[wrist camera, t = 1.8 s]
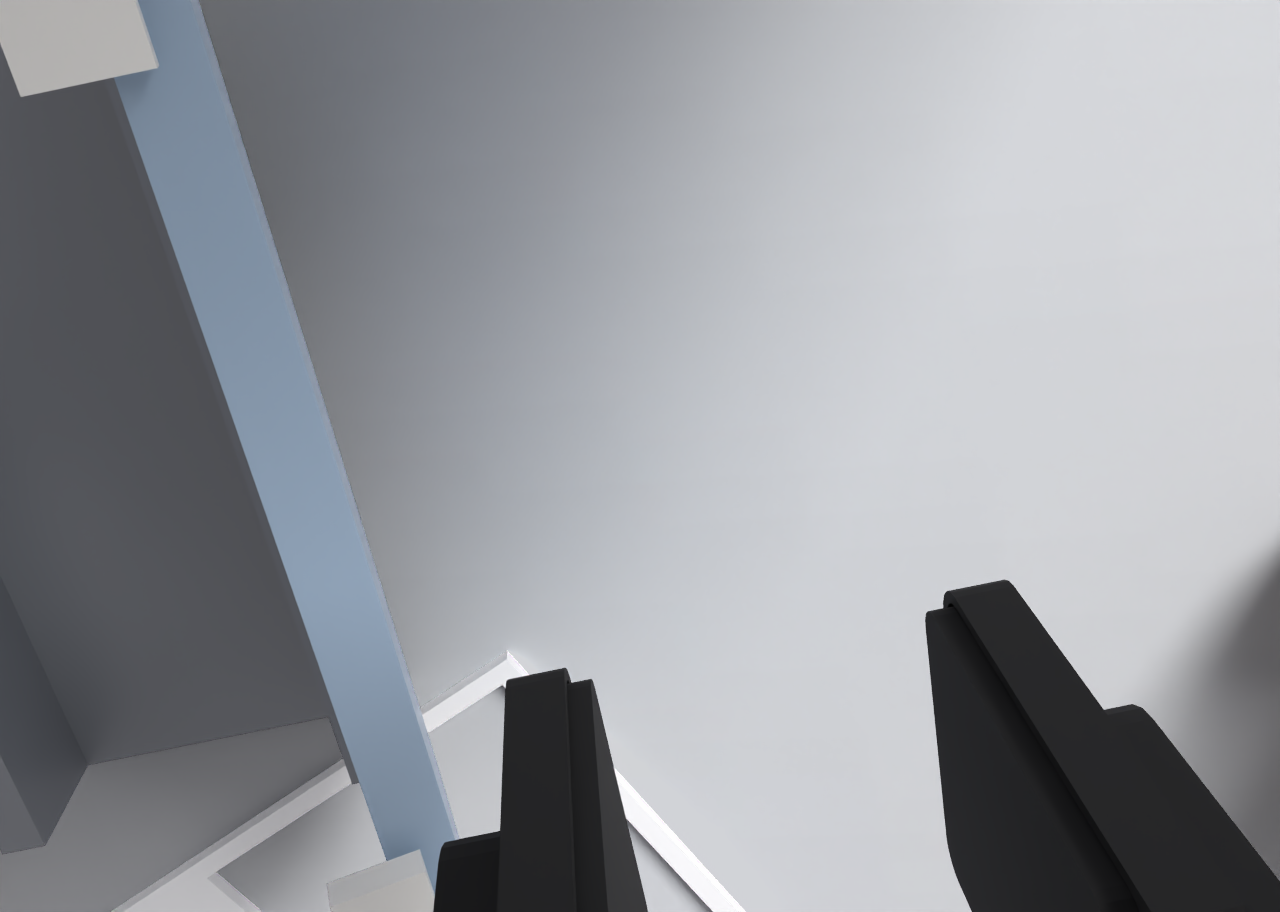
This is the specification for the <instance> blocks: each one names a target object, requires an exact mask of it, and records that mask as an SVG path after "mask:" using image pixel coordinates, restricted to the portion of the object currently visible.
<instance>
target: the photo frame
mask: <svg viewBox="0 0 1280 912" xmlns="http://www.w3.org/2000/svg"><path fill="white" fill-rule="evenodd" d="M527 675H529V674H528V673H527V671H526V670H525V669H524V668H523V667H522V666H521V665H520V664H519V663H518V662H517V660H516V659H515V658H514V657H513V656H512V655H511V654H510V653H509V652H508V651H505V652H504V653H502V654H501V655H499V656H498V657H496V658H495V659H493V660H492V661H490V662H489V663H487V664H486V665H484V666H482V667H481V668H479V669H478V670H476V671H475V672H473V673H472V674H470V675H469V676H467V677H466V678H464V679H463V680H461V681H460V682H458V683H457V684H455V685H454V686H452V687H451V688H449V689H448V690H446V691H445V692H443V693H442V694H440V695H438V696H437V697H435V698H434V699H432V700H431V701H429V702H428V703H426V704H425V705H423V706H422V707H420V710H421V713H422V716H423V719H424V723H425V726H426V729H427V732H428V733H429V732H431V731H432V730H434V729H435V728H437V727H438V726H440V725H442V724H443V723H445V722H446V721H448V720H449V719H451V718H452V717H454V716H455V715H457V714H458V713H460V712H461V711H463V710H464V709H466V708H468V707H469V706H471V705H472V704H474V703H475V702H477V701H478V700H480V699H481V698H483V697H484V696H486V695H487V694H489V693H490V692H492V691H494V690H495V689H497V688H498V687H500V686H501V685H503V686H504V687H505V688H506V681H507V680H508V679H512V678H517V677H522V676H527ZM614 770H615V774H616V779H617V783H618V787H619V791H620V795H621V800H622V804H623V808H624V812H625V816H626V819H627V820H628V821H629V822H630V823H631V824H632V825H633V826H634V827H635V828H636V829H637V830H638V831H639V833H640V834H641V835H642V836H643V837H644V838H645V839H646V840H647V841H648V842H649V843H650V844H651V845H652V847H653V848H654V849H655V850H656V851H657V852H658V853H659V854H660V855H661V856H662V857H663V858H664V859H665V861H666V862H667V863H668V864H669V865H670V866H671V867H672V868H673V869H674V870H675V871H676V872H677V873H678V875H679V876H680V877H681V878H682V879H683V880H684V881H685V882H686V883H687V884H688V885H689V886H690V887H691V889H692V890H693V891H694V892H695V893H696V894H697V895H698V896H699V897H700V898H701V899H702V900H703V901H704V902H705V904H706V905H707V906H708V907H709V908H710V909H711V910H712V911H713V912H746V911H745V910H744V909H743V908H742V907H741V906H740V905H739V904H738V903H737V901H736V900H735V899H734V898H733V897H732V896H731V895H730V894H729V893H728V892H727V891H726V889H725V888H724V887H723V886H722V885H721V884H720V883H719V882H718V881H717V880H716V878H715V877H714V876H713V875H712V874H711V873H710V872H709V871H708V870H707V869H706V868H705V866H704V865H703V864H702V863H701V862H700V861H699V860H698V859H697V858H696V857H695V855H694V854H693V853H692V852H691V851H690V850H689V849H688V848H687V847H686V846H685V844H684V843H683V842H682V841H681V840H680V839H679V838H678V837H677V836H676V835H675V834H674V832H673V831H672V830H671V829H670V828H669V827H668V826H667V825H666V824H665V823H664V821H663V820H662V819H661V818H660V817H659V816H658V815H657V814H656V813H655V812H654V811H653V809H652V808H651V807H650V806H649V805H648V804H647V803H646V802H645V801H644V800H643V798H642V797H641V796H640V795H639V794H638V793H637V792H636V791H635V790H634V789H633V788H632V786H631V785H630V784H629V783H628V782H627V781H626V780H625V779H624V778H623V777H622V775H621V774H620V773H619V772H618V771H617V770H616V769H615V768H614ZM351 783H352V782H351V779H350V777H349V774H348V771H347V768H346V765H345V762H344V760H343V759H341V760H340V761H338V762H337V763H335V764H334V765H332V766H331V767H329V768H328V769H326V770H325V771H323V772H322V773H320V774H319V775H317V776H316V777H314V778H313V779H311V780H309V781H308V782H306V783H305V784H303V785H302V786H300V787H299V788H297V789H296V790H294V791H293V792H291V793H290V794H288V795H287V796H285V797H284V798H282V799H281V800H279V801H278V802H276V803H275V804H273V805H272V806H270V807H269V808H267V809H265V810H264V811H262V812H261V813H259V814H258V815H256V816H255V817H253V818H252V819H250V820H249V821H247V822H246V823H244V824H243V825H241V826H240V827H238V828H237V829H235V830H234V831H232V832H231V833H229V834H228V835H226V836H225V837H223V838H221V839H220V840H218V841H217V842H215V843H214V844H212V845H211V846H209V847H208V848H206V849H205V850H203V851H202V852H200V853H199V854H197V855H196V856H194V857H193V858H191V859H190V860H188V861H187V862H185V863H184V864H182V865H181V866H179V867H177V868H176V869H174V870H173V871H171V872H170V873H168V874H167V875H165V876H164V877H162V878H161V879H159V880H158V881H156V882H155V883H153V884H152V885H150V886H149V887H147V888H146V889H144V890H143V891H141V892H140V893H138V894H137V895H135V896H133V897H132V898H130V899H129V900H127V901H126V902H124V903H123V904H121V905H120V906H118V907H117V908H115V909H114V910H112V911H111V912H262V911H261V910H260V909H259V908H258V907H257V906H255V905H254V904H253V903H252V902H251V901H250V900H248V899H247V898H246V897H245V896H244V895H243V894H241V893H240V892H239V891H238V890H237V889H236V888H234V887H233V886H232V885H231V884H230V883H229V882H228V881H226V880H225V879H224V878H223V877H222V876H221V875H219V874H218V873H217V871H218V870H220V869H221V868H223V867H224V866H226V865H227V864H229V863H230V862H232V861H234V860H235V859H237V858H238V857H240V856H241V855H243V854H244V853H246V852H247V851H249V850H250V849H252V848H253V847H255V846H256V845H258V844H260V843H261V842H263V841H264V840H266V839H267V838H269V837H270V836H272V835H273V834H275V833H276V832H278V831H279V830H281V829H282V828H284V827H286V826H287V825H289V824H290V823H292V822H293V821H295V820H296V819H298V818H299V817H301V816H302V815H304V814H305V813H307V812H308V811H310V810H312V809H313V808H315V807H316V806H318V805H319V804H321V803H322V802H324V801H325V800H327V799H328V798H330V797H331V796H333V795H334V794H336V793H338V792H339V791H341V790H342V789H344V788H345V787H347V786H348V785H350V784H351Z"/></svg>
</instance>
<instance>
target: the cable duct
mask: <svg viewBox="0 0 1280 912" xmlns="http://www.w3.org/2000/svg"><path fill="white" fill-rule="evenodd" d="M325 717H329V720H330V723H331V725H332V728H333V731H334V734H335V737H336V740H337V743H338V745H339V748H340V751H341V754H342V757H343V760H344V762H345V765H346V768H347V771H348V774H349V777H350V779H351V782H352V784H356V783H359V780H358V777H357V774H356V771H355V768H354V765H353V762H352V760H351V757H350V754H349V751H348V748H347V745H346V742H345V740H344V737H343V734H342V731H341V728H340V725H339V722H338V719H337V717H336V714H335V711H334V708H333V705H332V702H331V699H330V696H329V694H328V691H327V688H326V685H325V682H324V679H323V676H322V674H321V671H320V668H319V665H318V662H317V659H316V656H315V653H314V651H313V648H312V645H311V642H310V639H309V636H308V633H307V631H306V628H305V625H304V622H303V619H302V616H301V613H300V610H299V608H298V605H297V602H296V599H295V596H294V593H293V590H292V587H291V585H290V582H289V579H288V576H287V573H286V570H285V567H284V565H283V562H282V559H281V556H280V553H279V550H278V547H277V544H276V542H275V539H274V536H273V533H272V530H271V527H270V524H269V522H268V519H267V516H266V513H265V510H264V507H263V504H262V501H261V499H260V496H259V493H258V490H257V487H256V484H255V481H254V478H253V476H252V473H251V470H250V467H249V464H248V461H247V458H246V456H245V453H244V450H243V447H242V444H241V441H240V438H239V435H238V433H237V430H236V427H235V424H234V421H233V418H232V415H231V412H230V410H229V407H228V404H227V401H226V398H225V395H224V392H223V390H222V387H221V384H220V381H219V378H218V375H217V372H216V369H215V367H214V364H213V361H212V358H211V355H210V352H209V349H208V347H207V344H206V341H205V338H204V335H203V332H202V329H201V326H200V324H199V321H198V318H197V315H196V312H195V309H194V306H193V303H192V301H191V298H190V295H189V292H188V289H187V286H186V283H185V281H184V278H183V275H182V272H181V269H180V266H179V263H178V260H177V258H176V255H175V252H174V249H173V246H172V243H171V240H170V237H169V235H168V232H167V229H166V226H165V223H164V220H163V217H162V215H161V212H160V209H159V206H158V203H157V200H156V197H155V194H154V192H153V189H152V186H151V183H150V180H149V177H148V174H147V172H146V169H145V166H144V163H143V160H142V157H141V154H140V151H139V149H138V146H137V143H136V140H135V137H134V134H133V131H132V128H131V126H130V123H129V120H128V117H127V114H126V111H125V108H124V106H123V103H122V100H121V97H120V94H119V91H118V88H117V85H116V83H115V80H114V77H113V78H108V79H104V80H99V81H94V82H90V83H85V84H80V85H75V86H71V87H66V88H61V89H57V90H52V91H47V92H42V93H38V94H33V95H28V96H24V97H20V94H19V91H18V89H17V86H16V83H15V81H14V78H13V76H12V73H11V70H10V68H9V65H8V62H7V60H6V57H5V55H4V52H3V49H2V47H1V44H0V851H1V853H2V854H7V853H12V852H17V851H22V850H27V849H31V848H36V847H41V846H45V845H46V843H47V841H48V839H49V838H50V836H51V834H52V832H53V830H54V828H55V826H56V824H57V822H58V821H59V819H60V817H61V815H62V813H63V811H64V809H65V807H66V805H67V804H68V802H69V800H70V798H71V796H72V794H73V792H74V790H75V788H76V787H77V785H78V783H79V781H80V779H81V777H82V775H83V773H84V771H85V770H86V768H87V766H88V765H91V764H96V763H101V762H106V761H111V760H116V759H121V758H126V757H131V756H136V755H141V754H146V753H151V752H156V751H161V750H166V749H171V748H176V747H181V746H186V745H191V744H196V743H201V742H206V741H211V740H216V739H221V738H226V737H231V736H236V735H241V734H246V733H251V732H256V731H261V730H266V729H271V728H276V727H281V726H286V725H291V724H296V723H301V722H306V721H310V720H315V719H320V718H325Z"/></svg>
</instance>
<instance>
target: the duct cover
mask: <svg viewBox="0 0 1280 912" xmlns="http://www.w3.org/2000/svg"><path fill="white" fill-rule="evenodd" d="M0 44H1V47H2V49H3V52H4V55H5V57H6V60H7V62H8V65H9V68H10V70H11V73H12V76H13V78H14V81H15V83H16V86H17V89H18V91H19V94H20V97H24V96H28V95H33V94H38V93H42V92H47V91H52V90H57V89H61V88H66V87H71V86H75V85H80V84H85V83H90V82H94V81H99V80H104V79H108V78H113V77H114V80H115V83H116V85H117V88H118V91H119V94H120V97H121V100H122V103H123V106H124V108H125V111H126V114H127V117H128V120H129V123H130V126H131V128H132V131H133V134H134V137H135V140H136V143H137V146H138V149H139V151H140V154H141V157H142V160H143V163H144V166H145V169H146V172H147V174H148V177H149V180H150V183H151V186H152V189H153V192H154V194H155V197H156V200H157V203H158V206H159V209H160V212H161V215H162V217H163V220H164V223H165V226H166V229H167V232H168V235H169V237H170V240H171V243H172V246H173V249H174V252H175V255H176V258H177V260H178V263H179V266H180V269H181V272H182V275H183V278H184V281H185V283H186V286H187V289H188V292H189V295H190V298H191V301H192V303H193V306H194V309H195V312H196V315H197V318H198V321H199V324H200V326H201V329H202V332H203V335H204V338H205V341H206V344H207V347H208V349H209V352H210V355H211V358H212V361H213V364H214V367H215V369H216V372H217V375H218V378H219V381H220V384H221V387H222V390H223V392H224V395H225V398H226V401H227V404H228V407H229V410H230V412H231V415H232V418H233V421H234V424H235V427H236V430H237V433H238V435H239V438H240V441H241V444H242V447H243V450H244V453H245V456H246V458H247V461H248V464H249V467H250V470H251V473H252V476H253V478H254V481H255V484H256V487H257V490H258V493H259V496H260V499H261V501H262V504H263V507H264V510H265V513H266V516H267V519H268V522H269V524H270V527H271V530H272V533H273V536H274V539H275V542H276V544H277V547H278V550H279V553H280V556H281V559H282V562H283V565H284V567H285V570H286V573H287V576H288V579H289V582H290V585H291V587H292V590H293V593H294V596H295V599H296V602H297V605H298V608H299V610H300V613H301V616H302V619H303V622H304V625H305V628H306V631H307V633H308V636H309V639H310V642H311V645H312V648H313V651H314V653H315V656H316V659H317V662H318V665H319V668H320V671H321V674H322V676H323V679H324V682H325V685H326V688H327V691H328V694H329V696H330V699H331V702H332V705H333V708H334V711H335V714H336V717H337V719H338V722H339V725H340V728H341V731H342V734H343V737H344V740H345V742H346V745H347V748H348V751H349V754H350V757H351V760H352V762H353V765H354V768H355V771H356V774H357V777H358V780H359V783H360V785H361V788H362V791H363V794H364V797H365V800H366V803H367V806H368V808H369V811H370V814H371V817H372V820H373V823H374V826H375V828H376V831H377V834H378V837H379V840H380V843H381V846H382V849H383V851H384V854H385V857H386V860H387V861H386V862H383V863H380V864H378V865H375V866H372V867H370V868H367V869H364V870H362V871H359V872H356V873H353V874H351V875H348V876H345V877H343V878H340V879H337V880H334V881H332V882H329V883H327V889H328V897H329V904H330V909H331V911H332V912H433V909H434V899H435V889H436V879H437V869H438V861H439V855H440V850H441V847H442V846H443V844H444V843H445V842H448V841H453V840H458V839H459V835H458V832H457V829H456V825H455V822H454V818H453V815H452V812H451V808H450V805H449V802H448V798H447V795H446V791H445V788H444V785H443V781H442V778H441V774H440V771H439V768H438V764H437V761H436V758H435V755H434V751H433V748H432V745H431V742H430V739H429V735H428V732H427V729H426V726H425V723H424V719H423V716H422V713H421V710H420V707H419V703H418V700H417V697H416V694H415V691H414V687H413V684H412V681H411V678H410V675H409V671H408V668H407V665H406V662H405V659H404V656H403V652H402V649H401V646H400V643H399V640H398V636H397V633H396V630H395V627H394V624H393V620H392V617H391V614H390V611H389V608H388V604H387V601H386V598H385V595H384V592H383V588H382V585H381V582H380V579H379V576H378V572H377V569H376V566H375V563H374V560H373V556H372V553H371V550H370V547H369V544H368V540H367V537H366V534H365V531H364V528H363V524H362V521H361V518H360V515H359V512H358V508H357V505H356V502H355V499H354V496H353V492H352V489H351V486H350V483H349V480H348V476H347V473H346V470H345V467H344V464H343V460H342V457H341V454H340V451H339V448H338V444H337V441H336V438H335V435H334V432H333V428H332V425H331V422H330V419H329V416H328V412H327V409H326V406H325V403H324V400H323V397H322V393H321V390H320V387H319V384H318V381H317V377H316V374H315V371H314V368H313V365H312V361H311V358H310V355H309V352H308V349H307V345H306V342H305V339H304V336H303V333H302V329H301V326H300V323H299V320H298V317H297V313H296V310H295V307H294V304H293V301H292V297H291V294H290V291H289V288H288V285H287V281H286V278H285V275H284V272H283V269H282V265H281V262H280V259H279V256H278V253H277V249H276V246H275V243H274V240H273V237H272V233H271V230H270V227H269V224H268V221H267V217H266V214H265V211H264V208H263V205H262V201H261V198H260V195H259V192H258V189H257V185H256V182H255V179H254V176H253V173H252V169H251V166H250V163H249V160H248V157H247V153H246V150H245V147H244V144H243V141H242V138H241V134H240V131H239V128H238V125H237V122H236V118H235V115H234V112H233V109H232V106H231V102H230V99H229V96H228V93H227V90H226V86H225V83H224V80H223V77H222V74H221V70H220V67H219V64H218V61H217V58H216V54H215V51H214V48H213V45H212V42H211V38H210V35H209V32H208V29H207V26H206V22H205V19H204V16H203V13H202V10H201V6H200V3H199V0H0Z"/></svg>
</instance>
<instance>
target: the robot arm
mask: <svg viewBox="0 0 1280 912" xmlns="http://www.w3.org/2000/svg"><path fill="white" fill-rule="evenodd" d="M925 622H926V635H927V645H928V655H929V665H930V675H931V685H932V695H933V705H934V715H935V725H936V735H937V745H938V756H939V766H940V776H941V786H942V796H943V806H944V816H945V826H946V836H947V843H948V848H949V853H950V857H951V861H952V864H953V867H954V870H955V874H956V876H957V879H958V881H959V884H960V886H961V888H962V890H963V893H964V895H965V897H966V899H967V902H968V904H969V906H970V908H971V911H972V912H1280V881H1279V880H1278V879H1277V877H1276V876H1275V875H1274V874H1273V872H1272V871H1271V870H1270V868H1269V867H1268V866H1267V865H1266V863H1265V862H1264V861H1263V859H1262V858H1261V857H1260V856H1259V854H1258V853H1257V852H1256V850H1255V849H1254V848H1253V847H1252V845H1251V844H1250V843H1249V842H1248V840H1247V839H1246V838H1245V836H1244V835H1243V834H1242V833H1241V831H1240V830H1239V829H1238V827H1237V826H1236V825H1235V824H1234V822H1233V821H1232V820H1231V818H1230V817H1229V816H1228V815H1227V813H1226V812H1225V811H1224V809H1223V808H1222V807H1221V806H1220V804H1219V803H1218V802H1217V800H1216V799H1215V798H1214V797H1213V795H1212V794H1211V793H1210V791H1209V790H1208V789H1207V788H1206V786H1205V785H1204V784H1203V782H1202V781H1201V780H1200V779H1199V777H1198V776H1197V775H1196V774H1195V772H1194V771H1193V770H1192V768H1191V767H1190V766H1189V765H1188V763H1187V762H1186V761H1185V759H1184V758H1183V757H1182V756H1181V754H1180V753H1179V752H1178V750H1177V749H1176V748H1175V747H1174V745H1173V744H1172V743H1171V741H1170V740H1169V739H1168V738H1167V736H1166V735H1165V734H1164V732H1163V731H1162V730H1161V729H1160V727H1159V726H1158V725H1157V723H1156V722H1155V721H1154V720H1153V718H1152V717H1151V716H1150V715H1149V714H1148V713H1147V712H1146V711H1145V710H1144V709H1143V708H1141V707H1139V706H1136V705H1133V704H1131V705H1126V706H1121V707H1116V708H1111V709H1106V710H1103V708H1102V707H1101V706H1100V704H1099V703H1098V701H1097V700H1096V699H1095V697H1094V696H1093V695H1092V693H1091V692H1090V690H1089V689H1088V688H1087V686H1086V685H1085V683H1084V682H1083V681H1082V679H1081V678H1080V677H1079V675H1078V674H1077V672H1076V671H1075V670H1074V668H1073V667H1072V666H1071V664H1070V663H1069V661H1068V660H1067V659H1066V657H1065V656H1064V655H1063V653H1062V652H1061V650H1060V649H1059V648H1058V646H1057V645H1056V644H1055V642H1054V641H1053V639H1052V638H1051V637H1050V635H1049V634H1048V633H1047V631H1046V630H1045V628H1044V627H1043V626H1042V624H1041V623H1040V621H1039V620H1038V619H1037V617H1036V616H1035V615H1034V613H1033V612H1032V610H1031V609H1030V608H1029V606H1028V605H1027V604H1026V602H1025V601H1024V599H1023V598H1022V597H1021V595H1020V594H1019V593H1018V591H1017V590H1016V588H1015V587H1014V586H1013V585H1012V584H1011V583H1010V582H1009V581H1008V580H1001V581H996V582H991V583H986V584H981V585H976V586H971V587H966V588H961V589H956V590H951V591H947V592H946V593H945V595H944V601H943V609H938V610H933V611H928V612H927V613H926V619H925ZM433 912H648V910H647V905H646V901H645V896H644V892H643V888H642V884H641V879H640V875H639V871H638V867H637V863H636V858H635V854H634V850H633V846H632V842H631V837H630V833H629V829H628V825H627V821H626V816H625V812H624V808H623V804H622V800H621V795H620V791H619V787H618V783H617V779H616V774H615V770H614V766H613V762H612V758H611V754H610V749H609V745H608V741H607V737H606V733H605V728H604V724H603V720H602V716H601V712H600V707H599V703H598V699H597V695H596V691H595V687H594V684H593V681H592V679H589V680H584V681H579V682H574V683H571V680H570V676H569V674H568V671H567V669H566V668H562V669H557V670H552V671H547V672H542V673H537V674H532V675H527V676H522V677H517V678H512V679H508V680H507V681H506V688H505V715H504V742H503V770H502V797H501V825H500V831H498V832H493V833H488V834H483V835H478V836H473V837H468V838H463V839H458V840H453V841H448V842H445V843H444V844H443V846H442V847H441V850H440V855H439V861H438V869H437V879H436V889H435V899H434V909H433Z"/></svg>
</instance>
